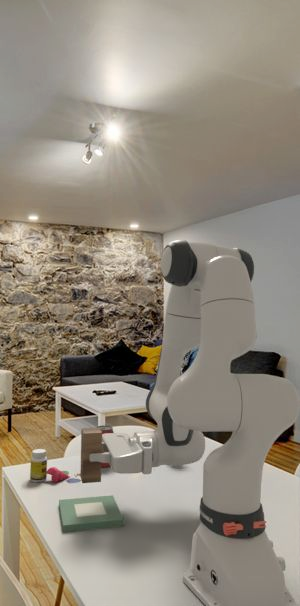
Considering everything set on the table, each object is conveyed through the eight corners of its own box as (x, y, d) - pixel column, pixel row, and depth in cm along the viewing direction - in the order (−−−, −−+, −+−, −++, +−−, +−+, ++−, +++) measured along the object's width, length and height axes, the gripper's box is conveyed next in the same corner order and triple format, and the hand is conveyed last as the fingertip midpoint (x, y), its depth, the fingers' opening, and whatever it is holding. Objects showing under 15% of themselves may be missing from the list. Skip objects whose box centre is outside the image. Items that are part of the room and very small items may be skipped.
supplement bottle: (43, 483, 132) (44, 453, 132) (27, 482, 133) (28, 453, 133) (48, 476, 137) (49, 448, 137) (33, 476, 138) (34, 448, 138)
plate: (123, 525, 108) (123, 519, 108) (63, 532, 104) (63, 525, 104) (112, 501, 121) (112, 495, 121) (58, 505, 118) (59, 499, 118)
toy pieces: (70, 489, 129) (70, 473, 129) (40, 481, 134) (40, 466, 135) (95, 475, 140) (95, 461, 140) (65, 469, 145) (66, 455, 145)
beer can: (91, 462, 151) (92, 425, 151) (111, 460, 153) (111, 424, 153) (95, 468, 145) (96, 430, 145) (115, 467, 147) (116, 429, 147)
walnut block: (100, 481, 112) (102, 432, 111) (82, 483, 110) (83, 433, 110) (98, 474, 116) (99, 427, 116) (80, 476, 115) (81, 428, 115)
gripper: (133, 426, 126) (83, 428, 123) (152, 449, 107) (93, 453, 103) (132, 449, 126) (82, 452, 123) (152, 477, 107) (92, 481, 103)
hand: (87, 452), depth 113 cm, fingers closed on walnut block, 4 cm apart
